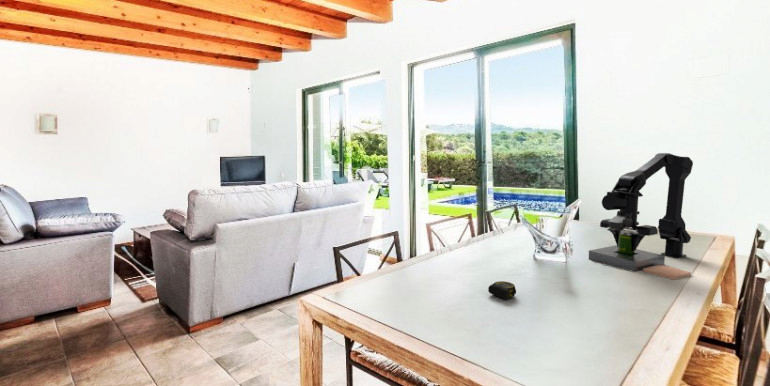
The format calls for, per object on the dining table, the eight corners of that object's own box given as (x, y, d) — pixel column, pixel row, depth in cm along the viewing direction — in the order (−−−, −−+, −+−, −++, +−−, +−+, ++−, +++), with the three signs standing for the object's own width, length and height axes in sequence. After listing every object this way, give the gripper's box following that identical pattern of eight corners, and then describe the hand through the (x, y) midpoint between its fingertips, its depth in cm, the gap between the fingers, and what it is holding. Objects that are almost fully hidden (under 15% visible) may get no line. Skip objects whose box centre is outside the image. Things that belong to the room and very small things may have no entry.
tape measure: (486, 295, 118) (487, 283, 118) (501, 290, 122) (502, 279, 122) (505, 302, 113) (505, 290, 112) (520, 297, 116) (520, 285, 116)
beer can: (635, 261, 150) (637, 231, 148) (630, 264, 146) (632, 233, 145) (620, 259, 154) (622, 229, 153) (614, 261, 151) (616, 231, 149)
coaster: (659, 267, 143) (659, 264, 143) (690, 274, 134) (690, 272, 134) (643, 271, 139) (643, 268, 139) (674, 279, 130) (674, 276, 130)
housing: (617, 253, 162) (617, 245, 162) (664, 264, 146) (664, 255, 146) (588, 259, 154) (588, 250, 154) (635, 271, 138) (635, 262, 138)
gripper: (591, 207, 153) (589, 246, 154) (641, 214, 136) (638, 257, 138) (610, 204, 157) (608, 242, 159) (659, 211, 141) (656, 253, 143)
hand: (626, 249), depth 150 cm, fingers closed on beer can, 5 cm apart
